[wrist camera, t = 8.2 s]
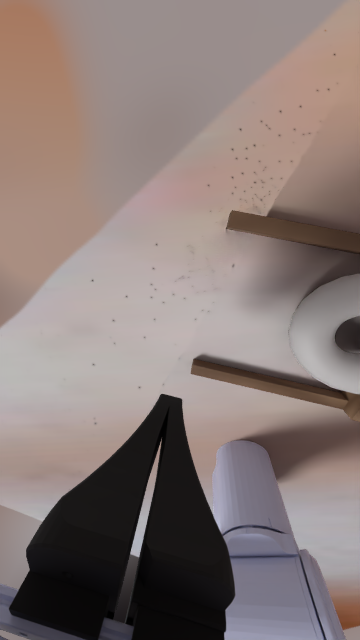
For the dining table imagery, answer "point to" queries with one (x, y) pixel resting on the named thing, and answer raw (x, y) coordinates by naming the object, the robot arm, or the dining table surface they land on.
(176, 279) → the dining table surface
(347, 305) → the donut
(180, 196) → the dining table surface
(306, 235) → the guide track
